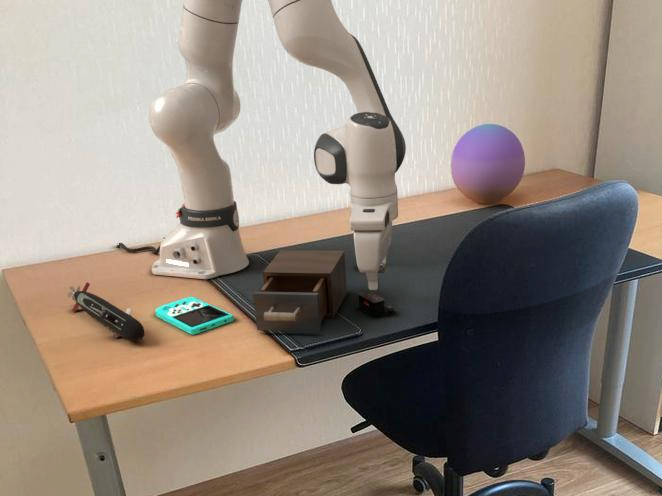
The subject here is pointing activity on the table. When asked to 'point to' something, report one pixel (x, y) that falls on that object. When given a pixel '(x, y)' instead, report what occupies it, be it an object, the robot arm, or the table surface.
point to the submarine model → (108, 314)
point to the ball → (487, 163)
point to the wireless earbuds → (373, 304)
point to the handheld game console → (193, 315)
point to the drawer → (291, 304)
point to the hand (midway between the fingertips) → (377, 280)
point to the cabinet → (313, 271)
